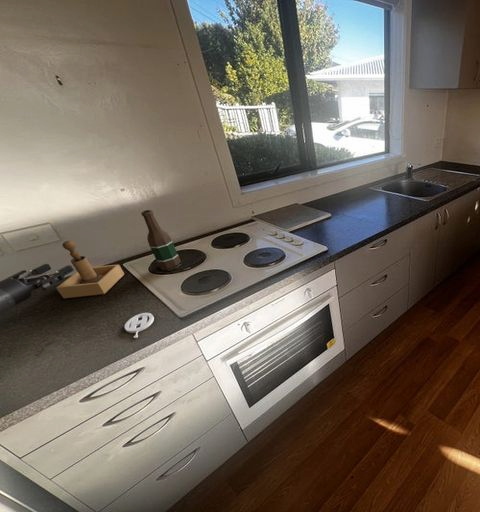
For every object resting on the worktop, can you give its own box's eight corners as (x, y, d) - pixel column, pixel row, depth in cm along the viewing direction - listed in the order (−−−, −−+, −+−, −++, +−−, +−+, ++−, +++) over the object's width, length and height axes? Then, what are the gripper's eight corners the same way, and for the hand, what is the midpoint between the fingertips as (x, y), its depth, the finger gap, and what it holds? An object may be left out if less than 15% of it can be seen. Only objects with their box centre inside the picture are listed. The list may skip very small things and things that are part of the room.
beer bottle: (184, 259, 123) (161, 206, 110) (179, 269, 116) (155, 213, 104) (163, 262, 120) (138, 208, 108) (157, 272, 114) (129, 216, 102)
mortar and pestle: (100, 288, 105) (72, 244, 95) (78, 291, 103) (48, 247, 94) (109, 278, 110) (83, 236, 101) (89, 280, 109) (61, 238, 99)
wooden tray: (63, 298, 101) (55, 287, 98) (87, 277, 111) (81, 268, 109) (104, 293, 103) (98, 283, 100) (124, 274, 113) (119, 264, 111)
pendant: (155, 311, 94) (154, 309, 94) (151, 333, 86) (150, 331, 86) (128, 319, 91) (127, 317, 91) (121, 342, 83) (120, 340, 83)
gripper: (12, 288, 79) (72, 258, 93) (-32, 285, 81) (34, 256, 95) (29, 309, 83) (85, 277, 97) (-13, 306, 85) (48, 274, 99)
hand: (60, 266), depth 96 cm, fingers open, 8 cm apart
